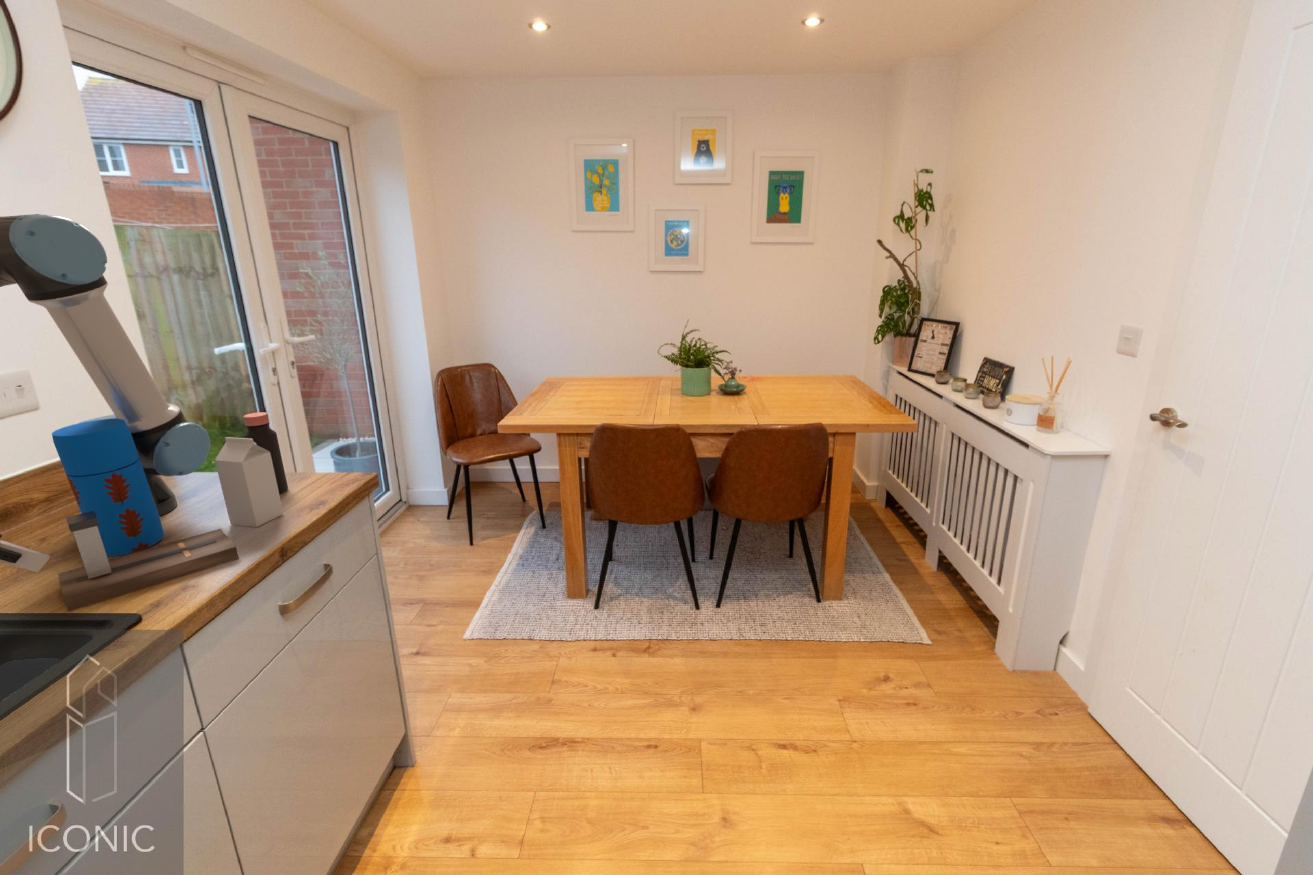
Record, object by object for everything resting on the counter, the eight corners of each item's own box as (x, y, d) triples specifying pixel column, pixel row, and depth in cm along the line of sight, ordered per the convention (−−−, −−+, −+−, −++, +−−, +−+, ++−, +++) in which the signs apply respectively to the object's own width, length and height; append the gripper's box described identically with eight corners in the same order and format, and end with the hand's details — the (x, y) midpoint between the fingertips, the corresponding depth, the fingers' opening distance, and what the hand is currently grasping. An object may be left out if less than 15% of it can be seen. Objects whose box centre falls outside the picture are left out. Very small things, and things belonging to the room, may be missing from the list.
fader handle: (83, 571, 104) (65, 517, 101) (110, 563, 106) (94, 510, 103) (86, 580, 101) (67, 524, 98) (114, 572, 103) (97, 517, 100)
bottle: (277, 497, 143) (260, 418, 137) (249, 497, 143) (231, 418, 138) (294, 487, 150) (278, 411, 144) (267, 487, 150) (250, 411, 144)
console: (62, 586, 105) (57, 573, 104) (223, 539, 122) (220, 528, 121) (67, 611, 97) (63, 597, 96) (238, 558, 114) (235, 546, 113)
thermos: (108, 562, 113) (60, 440, 105) (88, 548, 119) (41, 431, 110) (174, 537, 122) (135, 423, 114) (153, 525, 127) (114, 415, 119)
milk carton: (257, 527, 127) (237, 443, 121) (230, 525, 128) (209, 442, 123) (284, 514, 134) (266, 434, 128) (258, 512, 135) (239, 432, 130)
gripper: (-179, 512, 85) (24, 571, 101) (-198, 539, 76) (27, 598, 93) (-135, 467, 87) (57, 532, 104) (-148, 489, 79) (63, 556, 95)
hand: (43, 563), depth 98 cm, fingers closed
